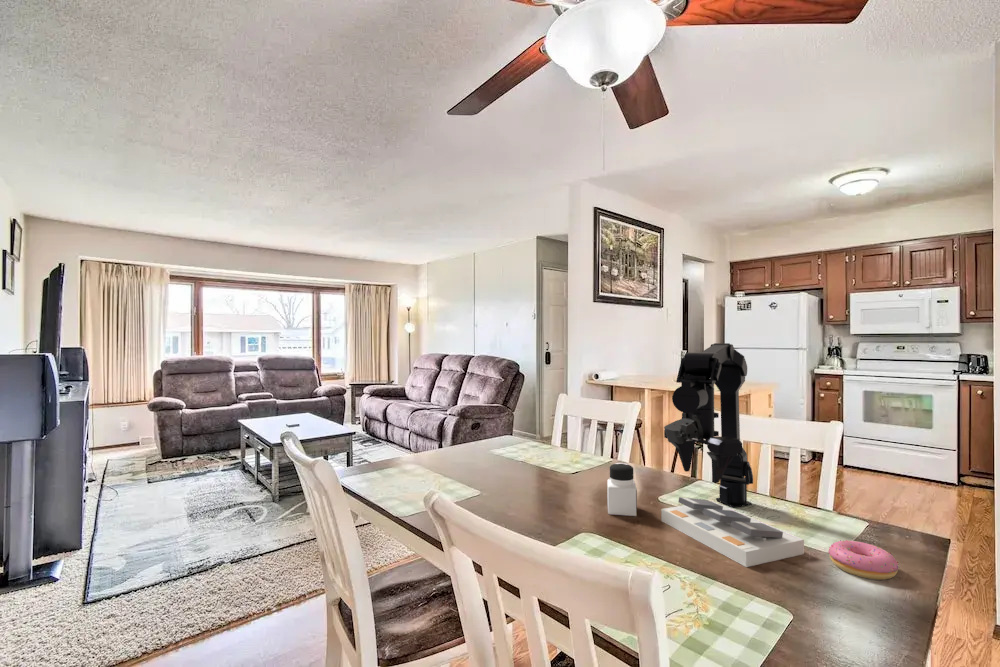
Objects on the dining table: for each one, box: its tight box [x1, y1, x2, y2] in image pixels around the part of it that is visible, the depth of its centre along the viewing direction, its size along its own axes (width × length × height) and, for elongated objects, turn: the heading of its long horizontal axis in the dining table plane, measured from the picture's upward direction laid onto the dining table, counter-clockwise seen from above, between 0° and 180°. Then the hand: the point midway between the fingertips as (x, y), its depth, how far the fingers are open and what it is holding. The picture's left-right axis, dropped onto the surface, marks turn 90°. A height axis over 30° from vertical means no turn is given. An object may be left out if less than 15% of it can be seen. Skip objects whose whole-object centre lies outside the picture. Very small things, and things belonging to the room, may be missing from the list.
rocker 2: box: [731, 521, 783, 538], centre depth 100 cm, size 9×5×1 cm, turn 110°
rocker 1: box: [678, 496, 724, 510], centre depth 115 cm, size 9×5×1 cm, turn 110°
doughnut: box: [828, 539, 900, 581], centre depth 92 cm, size 11×11×4 cm
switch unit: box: [660, 500, 805, 568], centre depth 107 cm, size 16×25×4 cm, turn 20°
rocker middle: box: [703, 508, 752, 522], centre depth 107 cm, size 9×5×1 cm, turn 110°
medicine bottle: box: [606, 462, 638, 517], centre depth 123 cm, size 7×7×12 cm
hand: (700, 476), depth 107 cm, fingers open, 9 cm apart
